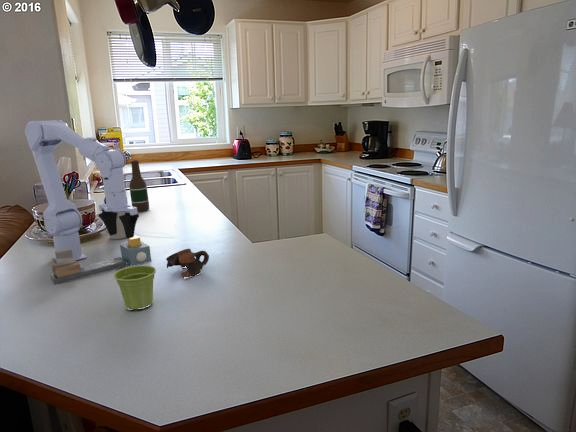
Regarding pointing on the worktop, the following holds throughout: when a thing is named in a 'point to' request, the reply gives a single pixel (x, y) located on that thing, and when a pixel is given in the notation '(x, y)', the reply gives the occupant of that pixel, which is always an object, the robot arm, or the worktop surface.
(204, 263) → the pottery mug
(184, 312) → the worktop surface
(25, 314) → the worktop surface
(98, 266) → the rail
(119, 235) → the travel mug
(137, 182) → the beer bottle
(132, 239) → the button
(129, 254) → the blue grey control box
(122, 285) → the plant pot
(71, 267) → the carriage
